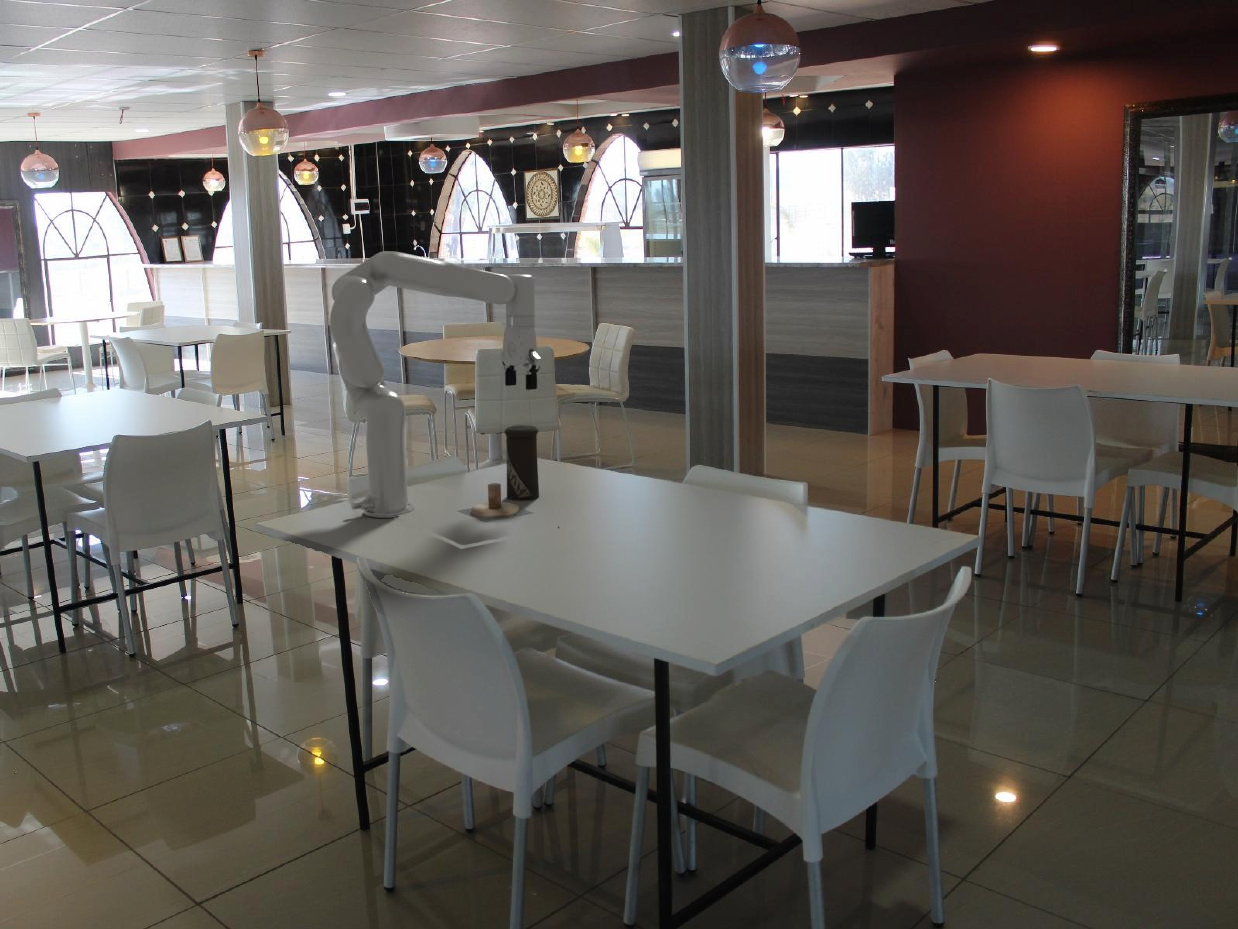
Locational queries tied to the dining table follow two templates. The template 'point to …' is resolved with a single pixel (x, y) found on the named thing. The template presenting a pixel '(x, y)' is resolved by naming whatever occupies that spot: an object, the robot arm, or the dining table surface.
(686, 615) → the dining table surface
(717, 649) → the dining table surface
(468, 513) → the mat
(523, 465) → the container
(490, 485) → the lid
